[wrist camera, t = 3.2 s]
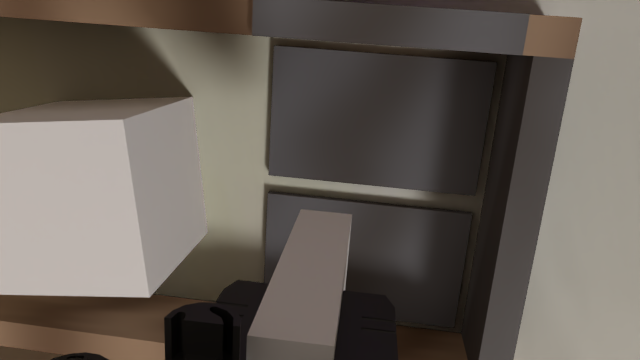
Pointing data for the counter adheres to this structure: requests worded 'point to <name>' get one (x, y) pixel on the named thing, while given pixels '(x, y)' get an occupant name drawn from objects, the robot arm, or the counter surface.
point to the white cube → (98, 196)
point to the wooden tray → (366, 163)
